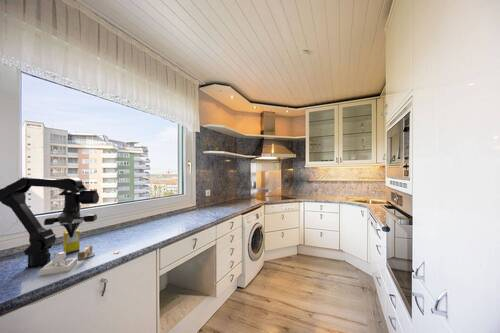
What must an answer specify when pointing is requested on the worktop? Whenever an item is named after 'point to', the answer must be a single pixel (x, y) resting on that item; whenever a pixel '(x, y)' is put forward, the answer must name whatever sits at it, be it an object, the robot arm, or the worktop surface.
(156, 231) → the worktop surface
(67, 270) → the tray
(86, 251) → the crank arm
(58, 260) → the stop plug
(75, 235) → the supplement box
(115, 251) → the crank base
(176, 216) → the worktop surface
